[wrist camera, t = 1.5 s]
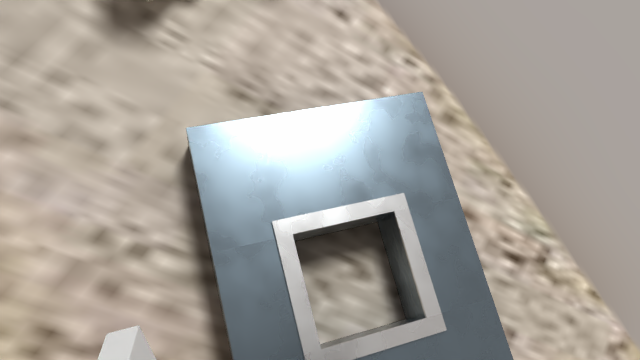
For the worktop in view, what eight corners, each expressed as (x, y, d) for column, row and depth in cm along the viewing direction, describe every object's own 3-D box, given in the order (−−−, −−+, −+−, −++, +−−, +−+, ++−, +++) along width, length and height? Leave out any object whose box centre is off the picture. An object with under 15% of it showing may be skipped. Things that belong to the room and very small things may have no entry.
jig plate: (188, 145, 32) (185, 126, 29) (405, 110, 36) (423, 90, 33) (263, 514, 26) (270, 537, 23) (507, 420, 31) (539, 430, 28)
